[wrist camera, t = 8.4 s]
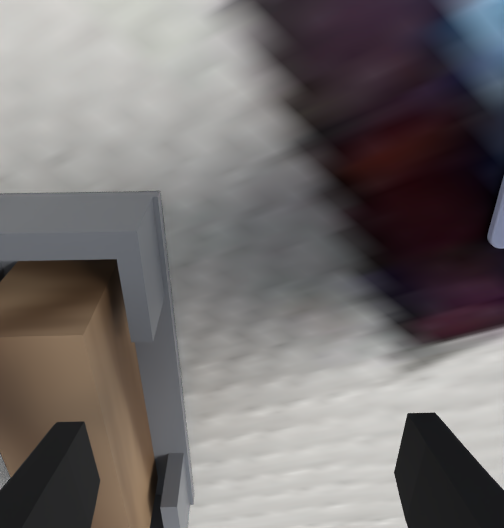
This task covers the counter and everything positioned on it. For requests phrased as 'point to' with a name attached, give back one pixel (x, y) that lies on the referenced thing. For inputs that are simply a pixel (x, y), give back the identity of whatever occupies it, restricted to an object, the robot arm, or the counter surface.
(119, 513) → the slat
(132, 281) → the cradle
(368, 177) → the counter surface
